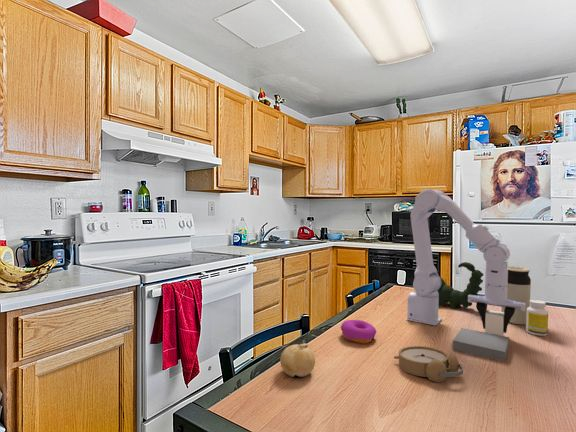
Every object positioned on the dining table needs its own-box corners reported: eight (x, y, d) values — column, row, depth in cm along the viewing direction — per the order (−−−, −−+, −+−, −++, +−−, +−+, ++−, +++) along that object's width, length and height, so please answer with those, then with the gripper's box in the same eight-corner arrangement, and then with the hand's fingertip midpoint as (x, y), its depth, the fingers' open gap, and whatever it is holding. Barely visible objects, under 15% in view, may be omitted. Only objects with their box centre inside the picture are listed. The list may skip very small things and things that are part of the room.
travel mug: (503, 323, 114) (505, 269, 114) (499, 316, 122) (500, 265, 121) (532, 326, 111) (534, 271, 111) (525, 319, 119) (527, 267, 118)
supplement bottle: (551, 337, 102) (552, 304, 102) (530, 335, 103) (531, 303, 103) (541, 330, 108) (542, 299, 107) (522, 329, 109) (523, 298, 108)
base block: (452, 349, 93) (452, 340, 93) (461, 336, 103) (461, 327, 103) (505, 361, 86) (505, 352, 86) (508, 346, 95) (509, 337, 95)
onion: (303, 385, 74) (304, 353, 74) (273, 375, 78) (273, 345, 78) (320, 370, 81) (320, 340, 81) (291, 362, 85) (291, 333, 85)
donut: (368, 348, 94) (368, 331, 94) (334, 340, 99) (334, 324, 99) (380, 336, 103) (380, 321, 102) (348, 329, 108) (348, 314, 108)
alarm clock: (416, 342, 91) (472, 353, 78) (418, 362, 90) (475, 375, 78) (387, 352, 84) (444, 365, 72) (390, 373, 84) (447, 390, 71)
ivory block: (484, 336, 102) (485, 313, 102) (486, 332, 106) (487, 309, 106) (502, 340, 100) (503, 316, 99) (504, 335, 103) (504, 312, 103)
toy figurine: (481, 313, 130) (418, 294, 148) (488, 264, 128) (423, 251, 146) (472, 318, 123) (407, 298, 142) (478, 267, 121) (412, 253, 140)
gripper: (466, 283, 103) (465, 328, 104) (525, 291, 95) (523, 339, 95) (470, 279, 109) (469, 321, 109) (526, 286, 100) (524, 332, 101)
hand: (494, 329), depth 103 cm, fingers closed on ivory block, 4 cm apart
